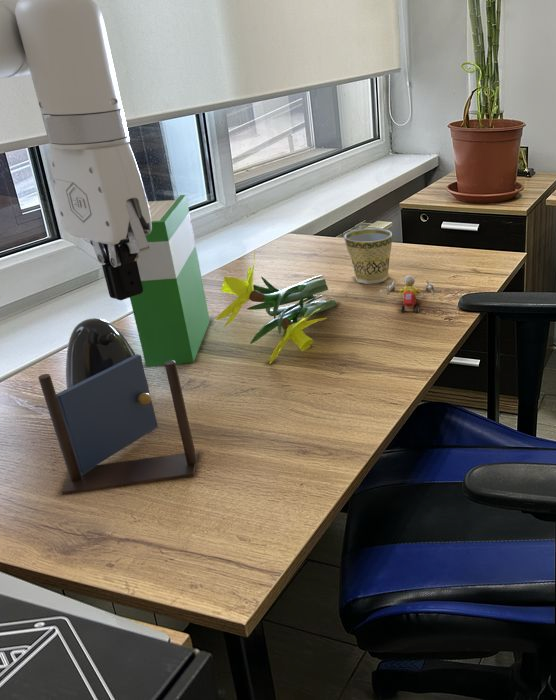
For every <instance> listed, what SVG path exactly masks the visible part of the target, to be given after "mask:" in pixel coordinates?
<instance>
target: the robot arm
mask: <svg viewBox="0 0 556 700" xmlns="http://www.w3.org/2000/svg"><path fill="white" fill-rule="evenodd" d="M110 47H111V46H110V43H109V38H108V33H107V28H106V24H105V20H104V17H103V13H102V10H101V8H100V7H99V5H98V4H97V2H95V0H0V79H7V78H8V79H9V78H17V77H23V76H28V75H30V77H31V80H32V84H33V88H34V91H35V96H36V99H37V104H38V106H39V110H40V113H41V117H42V121H43V122H42V123H43V125H44V129H45V132H46V137H47V140H48V145H49V161H50V170H51V177H52V182H53V187H54V191H55V197H56V201H57V206H58V211H59V214H60V219H61V222H62V226H63V229H64V230H65V231H66V232H67V233H68V234H69V235H71V236H72V237H73V236H74V237H77V238H79V239H82V240H84V241H85V242H87V243H88V244H90V245H91V246H92V247H93V250H94V253H95V255H96V259H97V261H98V263H100V264H101V268H102V270H103V276H104V279H105V283H106V288H107V291H108V295H109V297H110V298H112V299H115V300H117V301H124V300H127V299H130V297H132V296H135V295H138V294H141V293H142V292H143V287H142V282H141V278H140V274H139V269H138V265H137V260H138V259H139V255H138V253H139V252H142V251H146V250H148V249H149V244H148V242H147V239H146V235H149V234H150V233H151V230H152V222H151V215H150V210H149V205H148V202H149V201H148V197H147V192H146V190H145V186H144V183H143V179H142V175H141V172H140V170H139V166H138V164H137V161H136V158H135V155H134V152H133V150H132V147H131V144H130V140H131V139H130V135H129V131H128V127H127V121H126V117H125V112H124V108H123V104H122V100H121V94H120V90H119V84H118V80H117V75H116V70H115V67H114V66H115V65H114V61H113V57H112V53H111V52H112V51H111V48H110Z"/></svg>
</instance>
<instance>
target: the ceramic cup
mask: <svg viewBox="0 0 556 700" xmlns="http://www.w3.org/2000/svg"><path fill="white" fill-rule="evenodd" d="M343 238H344V242H345V246H346V250H347V253H348V255H349V257H350V260H351V261H350V262H351V265H352V268H353V273H354V276H355V279H356V282H357V283H360V284H365V285H371V284H373V285H374V284H381V283H383V282H384V281H386V280H388V276H389V269H390V258H391V252H392V244H393V233H392V230H391V229H385V228H376V227H369V228H360V229H354V230H351V231H348V232H347V233H345V234H344V236H343Z"/></svg>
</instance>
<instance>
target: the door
mask: <svg viewBox="0 0 556 700" xmlns="http://www.w3.org/2000/svg"><path fill="white" fill-rule="evenodd" d="M146 378H147V376H146V371H145V368H144V363H143V359H142V355H141V354H138V353H137V354H136V353H135V355H134V356H132V357H130V358H128V359H126V360H124V361H122V362H120V363H118V364H116V365H114V366H112V367H110V368H108V369H106V370H104V371H102V372H100V373H98V374H96V375H94V376H92V377H90V378H88V379H86V380H84V381H82V382H80V383H78V384H76V385H74V386H72V387H70V388H68V389H67V388H66V389H64V390H62V391H60V392H58V393H56V396H57V399H58V402H59V406H60V409H61V412H62V415H63V419H64V422H65V425H66V428H67V432H68V435H69V438H70V441H71V445H72V448H73V451H74V454H75V458H76V461H77V464H78V467H79V471H80V472H81V473H85V472H86V471H88V470H90V469H91V468H93V467H94V466H96V465H100V464H101V463H103V462H104V461H106V460H107V459H109V458H111V457H112V456H114V455H115V454H118V453H119V452H120V451H122V450H123V449H125V448H126V447H128V446H130V445H131V444H133V443H135V442H137V441H138V440H140V439H141V438H143V437H145V436H146V435H148V434H149V433H151V432H153V431H154V430H156V429H157V428H159V426H158V422H157V417H156V412H155V409H154V404H153V400H152V396H151V392H150V387H149V388H148V386H149V383H148V384H147V382H148V378H147V379H146Z"/></svg>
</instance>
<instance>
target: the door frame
mask: <svg viewBox="0 0 556 700" xmlns="http://www.w3.org/2000/svg"><path fill="white" fill-rule="evenodd" d="M164 367H165V368H164V369H165V372H166V377H167V380H168V385H169V389H170V394H171V398H172V403H173V407H174V412H175V416H176V421H177V425H178V429H179V435H180V438H181V442H182V447H183V452H184V453H176V454H170V455H163V456H155V457H148V458H147V457H146V458H140V459H132V460H125V461H117V462H110V463H102V464H101V463H100V464H98V465H96V466H94V467H93V468H91V469H90V470H88V471H86V472H85V473H81V472H80V471H79V467H78V464H77V461H76V458H75V454H74V451H73V448H72V445H71V441H70V438H69V435H68V432H67V428H66V425H65V422H64V419H63V415H62V412H61V409H60V406H59V402H58V399H57V396H56V394H57V393H56V389H55V386H54V383H53V379H52V376H51V374H49V373H44V374H41V375H39V376H38V381H39V384H40V388H41V391H42V393H43V398H44V401H45V404H46V407H47V410H48V413H49V415H50V419H51V422H52V426H53V429H54V432H55V436H56V439H57V442H58V445H59V448H60V451H61V454H62V457H63V460H64V464H65V467H66V470H67V473H68V477H67V479H66V481H65V484H64V485H63V488H62V490H61V494H62V496H63V495H70V494H71V495H72V494H78V493H79V494H80V493H86V492H93V491H100V490H109V489H114V488H121V487H122V488H123V487H130V486H135V485H143V484H144V485H145V484H150V483H151V484H152V483H158V482H164V481H170V480H171V481H172V480H179V479H187V478H193V477H195V472H196V467H197V464H198V459H199V451H196V450H195V446H194V440H193V436H192V431H191V428H190V422H189V417H188V414H187V409H186V404H185V400H184V395H183V390H182V386H181V380H180V377H179V372H178V366H177V364H176V362H175V361H173V360H171V361H167V362H165V365H164Z"/></svg>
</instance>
